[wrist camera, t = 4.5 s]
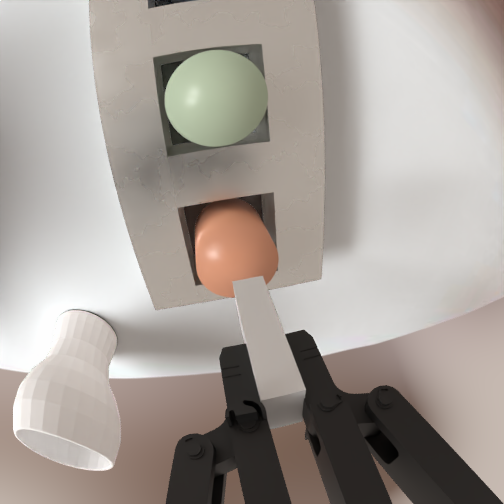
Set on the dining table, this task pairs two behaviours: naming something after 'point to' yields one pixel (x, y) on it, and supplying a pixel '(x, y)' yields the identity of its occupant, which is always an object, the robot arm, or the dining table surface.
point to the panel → (205, 157)
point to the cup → (72, 397)
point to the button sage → (216, 98)
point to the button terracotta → (232, 246)
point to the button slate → (179, 0)
